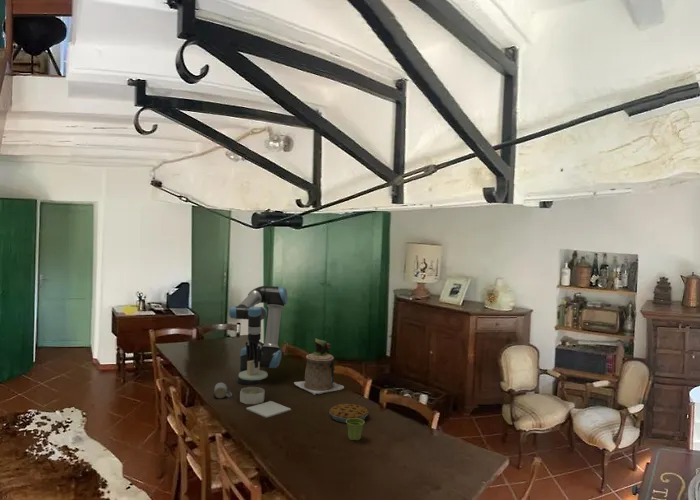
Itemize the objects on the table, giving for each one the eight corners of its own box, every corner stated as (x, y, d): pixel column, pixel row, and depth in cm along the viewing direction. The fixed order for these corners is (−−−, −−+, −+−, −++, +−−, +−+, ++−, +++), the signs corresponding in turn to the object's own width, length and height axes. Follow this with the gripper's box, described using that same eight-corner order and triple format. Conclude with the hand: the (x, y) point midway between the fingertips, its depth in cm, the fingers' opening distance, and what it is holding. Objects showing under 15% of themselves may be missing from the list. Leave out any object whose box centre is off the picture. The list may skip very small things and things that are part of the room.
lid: (255, 370, 337) (255, 355, 336) (273, 376, 326) (273, 361, 325) (232, 375, 324) (233, 360, 324) (250, 382, 313) (250, 366, 312)
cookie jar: (315, 396, 338) (317, 345, 336) (292, 386, 356) (294, 337, 355) (345, 389, 354) (347, 340, 352) (322, 379, 373) (323, 333, 371)
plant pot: (352, 433, 281) (352, 416, 281) (367, 437, 276) (368, 421, 276) (341, 438, 274) (342, 421, 273) (357, 443, 268) (357, 426, 268)
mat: (270, 402, 323) (270, 400, 323) (291, 410, 311) (291, 408, 311) (246, 409, 310) (246, 407, 310) (266, 417, 298) (266, 416, 298)
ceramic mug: (214, 399, 324) (214, 386, 324) (214, 394, 332) (214, 382, 332) (232, 398, 327) (232, 386, 327) (231, 394, 335) (232, 382, 335)
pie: (373, 413, 311) (373, 405, 311) (361, 427, 291) (361, 417, 290) (337, 408, 318) (337, 399, 318) (323, 420, 298) (323, 411, 297)
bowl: (254, 394, 335) (254, 385, 335) (268, 400, 326) (268, 390, 326) (235, 399, 325) (236, 390, 324) (250, 405, 316) (250, 395, 315)
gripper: (240, 331, 326) (239, 370, 327) (257, 336, 315) (256, 376, 317) (250, 330, 331) (249, 367, 333) (267, 334, 320) (266, 373, 322)
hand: (253, 371), depth 325 cm, fingers closed on lid, 3 cm apart
